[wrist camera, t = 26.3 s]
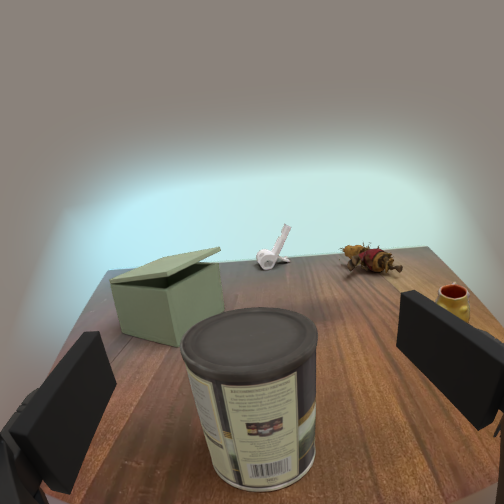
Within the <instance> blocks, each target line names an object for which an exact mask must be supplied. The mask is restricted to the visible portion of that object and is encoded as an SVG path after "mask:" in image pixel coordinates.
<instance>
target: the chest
mask: <svg viewBox="0 0 504 504" xmlns="http://www.w3.org/2000/svg"><path fill="white" fill-rule="evenodd" d="M110 285H111V289H112V294H113V298H114V302H115V306H116V311H117V315H118V318H119V322H120V326H121V330H122V333H124V334H127V335H131V336H135V337H138V338H142V339H146V340H150V341H154V342H158V343H162V344H166V345H170V346H174V347H179V346H180V341H181V339H182V337H183V335H184V334H185V333H186V332H187V330H188V329H190V328H191V327H192V326H193V325H195V324H196V323H198V322H200V321H202V320H204V319H206V318H208V317H211V316H214V315H217V314H220V313H222V312H223V311H224V310H225V309H224V301H223V294H222V286H221V279H220V271H219V263H207V262H197V263H195V264H193V265H190V266H188V267H186V268H184V269H182V270H180V271H178V272H176V273H174V274H172V275H170V276H168V277H161V278H153V279H145V280H137V281H129V282H121V283H113V284H110Z"/></svg>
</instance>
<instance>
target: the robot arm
mask: <svg viewBox="0 0 504 504" xmlns="http://www.w3.org/2000/svg"><path fill="white" fill-rule="evenodd" d="M396 347H397V348H398V349H399V350H400V351H401V352H402V353H403V354H404V355H405V356H406V357H407V358H408V359H409V360H410V361H411V362H412V363H413V364H414V365H415V366H416V367H417V368H418V369H419V370H420V371H421V372H422V373H423V374H424V375H425V376H426V377H427V378H428V379H429V380H430V381H431V382H432V383H433V384H434V385H435V386H436V387H437V388H438V389H439V390H440V391H441V392H442V393H443V394H444V395H445V396H446V397H447V398H448V399H449V401H450V402H451V403H452V404H453V405H454V406H455V407H456V408H457V409H458V410H459V411H460V412H461V413H462V414H463V415H464V416H465V417H466V418H467V419H468V421H469V422H470V423H471V424H472V425H473V426H474V427H475V428H476V429H477V430H478V431H479V430H481V429H482V428H484V427H486V426H487V425H489V424H491V423H492V422H493V421H494V419H495V416H496V414H497V412H498V409H499V410H501V411H502V412H503V413H504V343H501V341H499V340H498V339H495V337H493V336H492V335H490V334H489V333H487V332H485V331H483V330H480V329H477V328H474V327H473V326H471V325H470V324H468V323H467V322H465V321H463V320H462V319H460V318H459V317H457V316H456V315H454V314H453V313H451V312H449V311H448V310H446V309H445V308H443V307H441V306H440V305H438V304H437V303H435V302H433V301H432V300H430V299H429V298H427V297H425V296H424V295H422V294H420V293H419V292H417V291H415V290H412V291H407V292H402V293H401V298H400V312H399V324H398V334H397V343H396ZM116 385H117V383H116V380H115V377H114V375H113V372H112V369H111V366H110V363H109V360H108V357H107V354H106V351H105V348H104V345H103V342H102V339H101V335H100V332H99V331H92V332H84V333H83V334H82V335H81V336H80V338H79V339H78V340H77V341H76V342H75V344H74V345H73V346H72V347H71V349H70V350H69V351H68V352H67V353H66V355H65V356H64V357H63V358H62V360H61V361H60V362H59V363H58V365H57V366H56V367H55V368H54V370H53V371H52V372H51V374H50V375H49V376H48V377H47V379H46V380H45V381H44V383H43V384H42V385H41V386H40V388H37V389H36V390H34V391H33V392H32V393H30V394H29V395H28V396H27V397H26V398H25V399H24V401H23V402H22V405H20V406H19V407H18V409H17V412H15V413H14V414H13V415H12V417H11V418H10V420H9V421H8V422H7V424H6V425H5V426H4V428H3V429H2V431H1V432H0V504H49V503H48V501H47V498H46V496H45V493H44V492H43V490H42V489H41V488H40V484H41V482H42V480H43V481H44V482H45V483H46V484H47V485H48V487H49V488H50V489H51V490H52V491H56V492H60V493H65V494H69V495H70V494H71V491H72V488H73V486H74V483H75V481H76V478H77V475H78V473H79V470H80V468H81V465H82V463H83V460H84V458H85V455H86V453H87V451H88V448H89V446H90V443H91V441H92V439H93V436H94V434H95V432H96V429H97V427H98V425H99V422H100V420H101V418H102V415H103V413H104V411H105V409H106V406H107V404H108V402H109V400H110V398H111V395H112V393H113V391H114V389H115V387H116ZM500 430H501V435H500V437H501V443H500V465H499V478H498V488H497V496H496V503H495V504H504V414H503V416H502V418H501V420H500V422H499V425H498V427H497V429H496V431H495V433H494V436H493V437H496V436H497V434H498V432H499V431H500Z"/></svg>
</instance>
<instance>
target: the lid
mask: <svg viewBox="0 0 504 504" xmlns="http://www.w3.org/2000/svg"><path fill="white" fill-rule="evenodd" d="M219 251H221V249H220V247H216V248H211V249H205V250H200V251H195V252H190V253H184V254H178V255H173V256H167V257H163V258H160V259H158V260H155V261H153V262H151V263H148V264H146V265H144V266H141V267H138V268H136V269H134V270H131V271H129V272H126V273H124V274H122V275H119V276H117V277H114V278H112V279H110V280H109V281H110V284H113V283H121V282H129V281H137V280H145V279H153V278H161V277H168V276H170V275H172V274H174V273H176V272H178V271H180V270H182V269H184V268H186V267H188V266H190V265H193V264H195V263H197V262H199V261H201V260H203V259H205V258H207V257H209V256H211V255H213V254H215V253H217V252H219Z"/></svg>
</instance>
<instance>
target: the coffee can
mask: <svg viewBox="0 0 504 504" xmlns="http://www.w3.org/2000/svg"><path fill="white" fill-rule="evenodd" d="M317 341H318V332H317V328H316V326H315V324H314V323H313V322H312V321H311V320H310V319H309V318H307V317H306V316H304V315H302V314H299V313H297V312H294V311H290V310H286V309H280V308H266V307H258V308H244V309H237V310H232V311H227V312H223V313H220V314H217V315H214V316H211V317H208V318H206V319H204V320H202V321H200V322H198V323H196V324H195V325H193V326H192V327H191V328H190V329H188V330H187V332H186V333H185V334H184V335H183V337H182V339H181V341H180V351H181V355H182V358H183V360H184V362H185V364H186V368H187V372H188V376H189V380H190V384H191V388H192V392H193V395H194V399H195V403H196V407H197V410H198V414H199V417H200V421H201V425H202V428H203V431H204V435H205V438H206V441H207V445H208V448H209V451H210V454H211V458H212V464H213V467H214V469H215V471H216V472H217V474H218V475H219V476H220V477H221V478H222V479H223V480H224V481H225V482H227V483H229V484H230V485H232V486H234V487H236V488H239V489H242V490H246V491H253V492H265V491H273V490H278V489H281V488H284V487H287V486H289V485H291V484H293V483H294V482H296V481H298V480H299V479H300V478H302V477H303V476H304V475H305V474H306V473H307V472H308V470H309V469H310V468H311V466H312V464H313V461H314V458H315V418H316V346H317Z"/></svg>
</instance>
